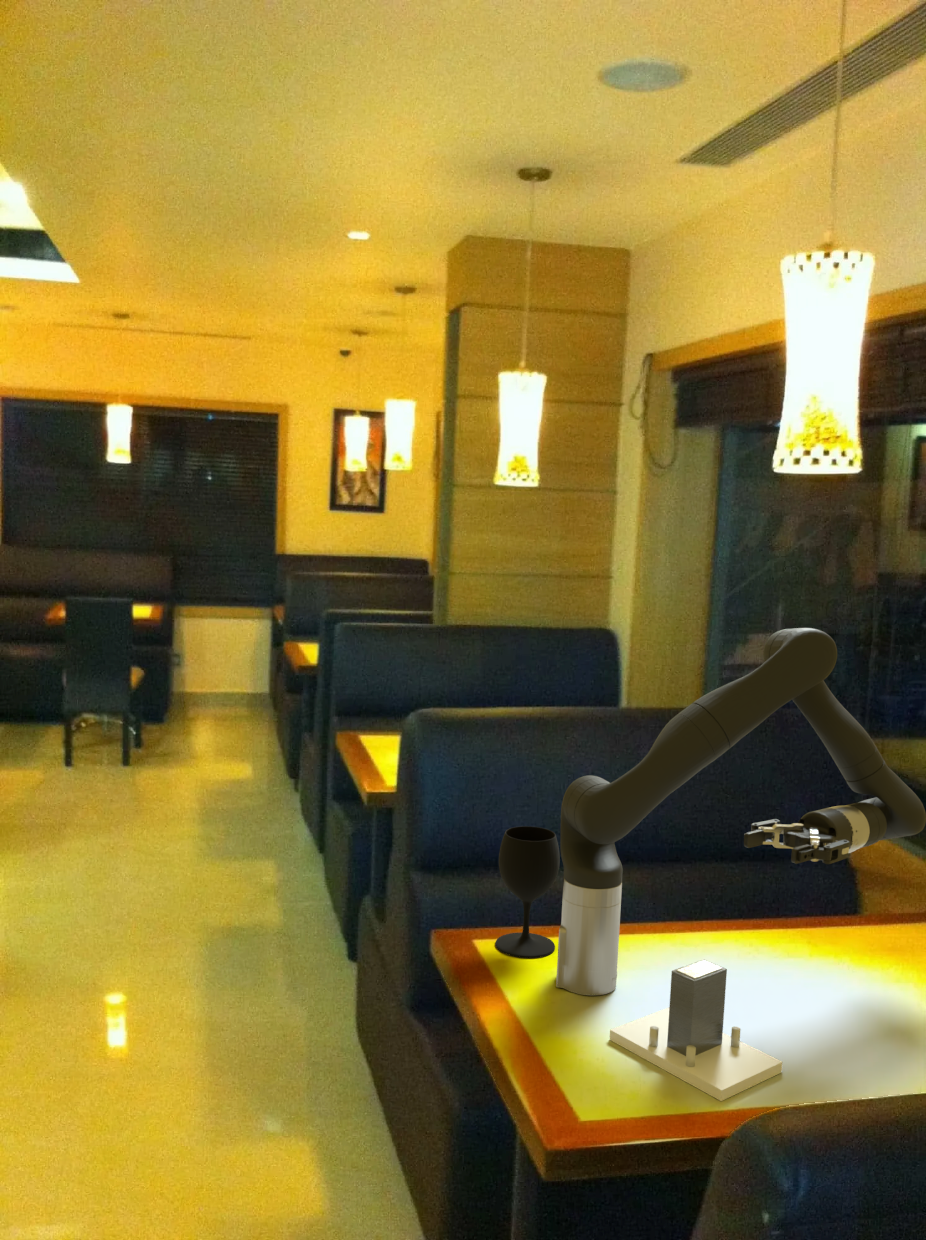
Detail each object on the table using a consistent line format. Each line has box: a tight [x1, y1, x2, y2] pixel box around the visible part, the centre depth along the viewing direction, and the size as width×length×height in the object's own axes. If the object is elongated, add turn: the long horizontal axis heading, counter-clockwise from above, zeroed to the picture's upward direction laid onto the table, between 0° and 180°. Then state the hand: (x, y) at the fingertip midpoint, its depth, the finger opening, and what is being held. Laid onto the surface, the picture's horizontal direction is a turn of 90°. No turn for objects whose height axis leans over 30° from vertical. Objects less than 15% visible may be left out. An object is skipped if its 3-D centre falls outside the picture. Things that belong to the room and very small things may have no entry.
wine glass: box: [495, 825, 561, 959], centre depth 192 cm, size 10×10×20 cm
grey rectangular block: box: [667, 959, 728, 1056], centre depth 156 cm, size 4×7×11 cm, turn 129°
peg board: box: [609, 1007, 783, 1102], centre depth 157 cm, size 20×13×4 cm, turn 39°
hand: (769, 848), depth 166 cm, fingers open, 8 cm apart
